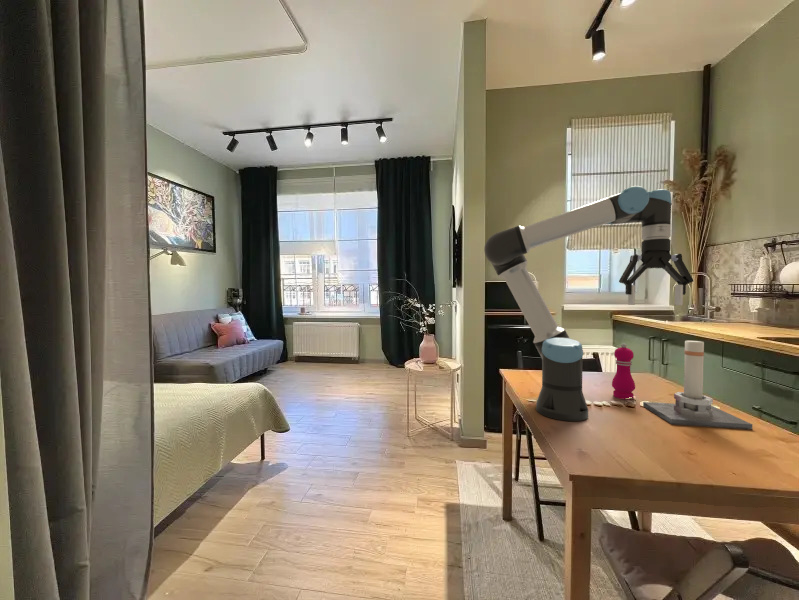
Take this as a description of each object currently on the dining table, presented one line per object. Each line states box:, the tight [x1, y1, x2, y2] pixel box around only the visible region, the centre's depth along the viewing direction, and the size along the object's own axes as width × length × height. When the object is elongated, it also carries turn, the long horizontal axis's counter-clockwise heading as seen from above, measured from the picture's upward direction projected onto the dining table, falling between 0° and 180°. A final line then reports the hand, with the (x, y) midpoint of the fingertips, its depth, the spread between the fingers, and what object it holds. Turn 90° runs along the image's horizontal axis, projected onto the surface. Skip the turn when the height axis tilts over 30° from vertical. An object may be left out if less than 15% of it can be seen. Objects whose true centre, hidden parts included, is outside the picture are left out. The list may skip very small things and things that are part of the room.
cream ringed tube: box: [683, 340, 705, 410], centre depth 104 cm, size 4×4×22 cm
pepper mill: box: [611, 343, 636, 400], centre depth 124 cm, size 7×7×20 cm
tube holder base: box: [642, 391, 753, 430], centre depth 104 cm, size 20×16×6 cm
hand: (654, 305), depth 109 cm, fingers open, 13 cm apart
